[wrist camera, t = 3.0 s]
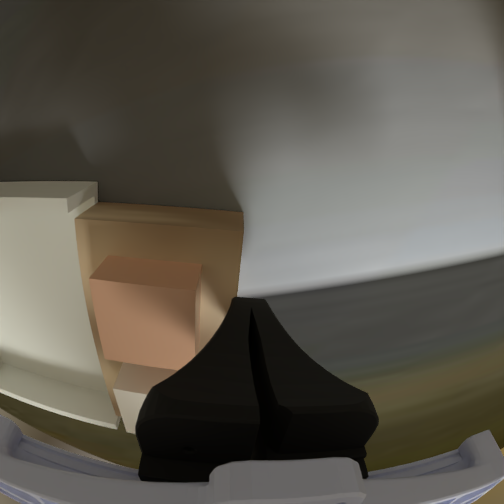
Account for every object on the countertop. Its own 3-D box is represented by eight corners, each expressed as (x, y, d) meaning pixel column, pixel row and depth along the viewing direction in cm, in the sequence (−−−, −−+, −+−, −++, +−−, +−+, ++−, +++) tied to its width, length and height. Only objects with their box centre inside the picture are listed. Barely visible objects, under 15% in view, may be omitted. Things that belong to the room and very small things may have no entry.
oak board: (225, 400, 19) (224, 430, 17) (125, 388, 19) (116, 415, 17) (243, 212, 14) (243, 231, 12) (98, 201, 14) (74, 218, 11)
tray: (127, 397, 19) (117, 429, 16) (3, 363, 18) (-13, 386, 16) (97, 181, 13) (66, 198, 10) (-47, 184, 12) (-78, 198, 9)
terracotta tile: (199, 341, 14) (195, 372, 12) (118, 331, 14) (104, 358, 12) (202, 263, 12) (195, 290, 10) (107, 255, 12) (88, 278, 10)
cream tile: (199, 415, 16) (197, 442, 14) (134, 406, 16) (126, 432, 14) (199, 370, 15) (195, 400, 13) (123, 360, 14) (112, 388, 13)
